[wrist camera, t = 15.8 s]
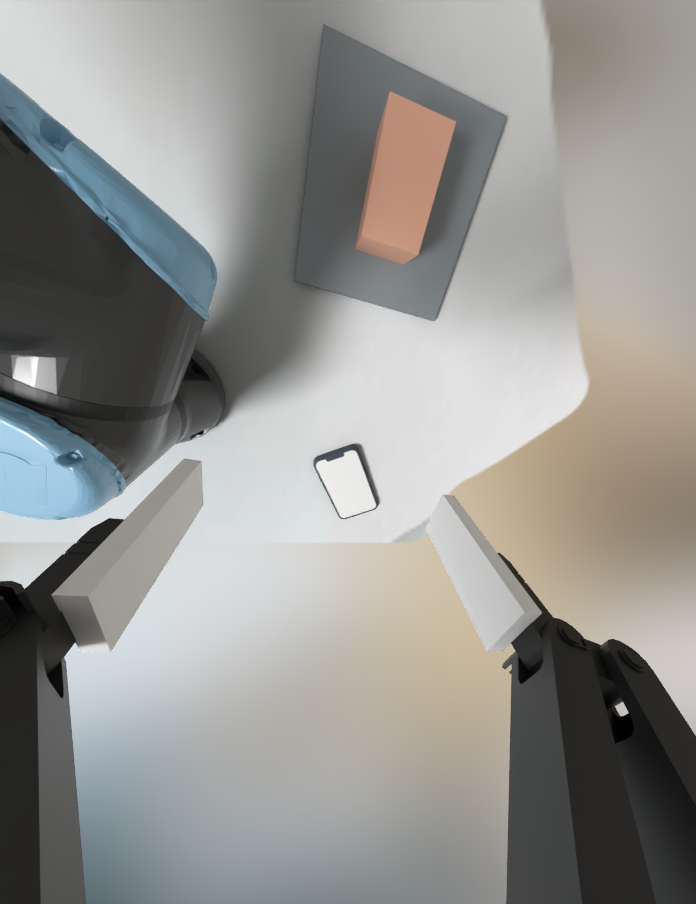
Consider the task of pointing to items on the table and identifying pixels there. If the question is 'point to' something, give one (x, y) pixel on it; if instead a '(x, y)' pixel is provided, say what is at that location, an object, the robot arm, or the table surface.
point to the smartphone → (346, 481)
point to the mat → (347, 171)
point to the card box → (403, 179)
